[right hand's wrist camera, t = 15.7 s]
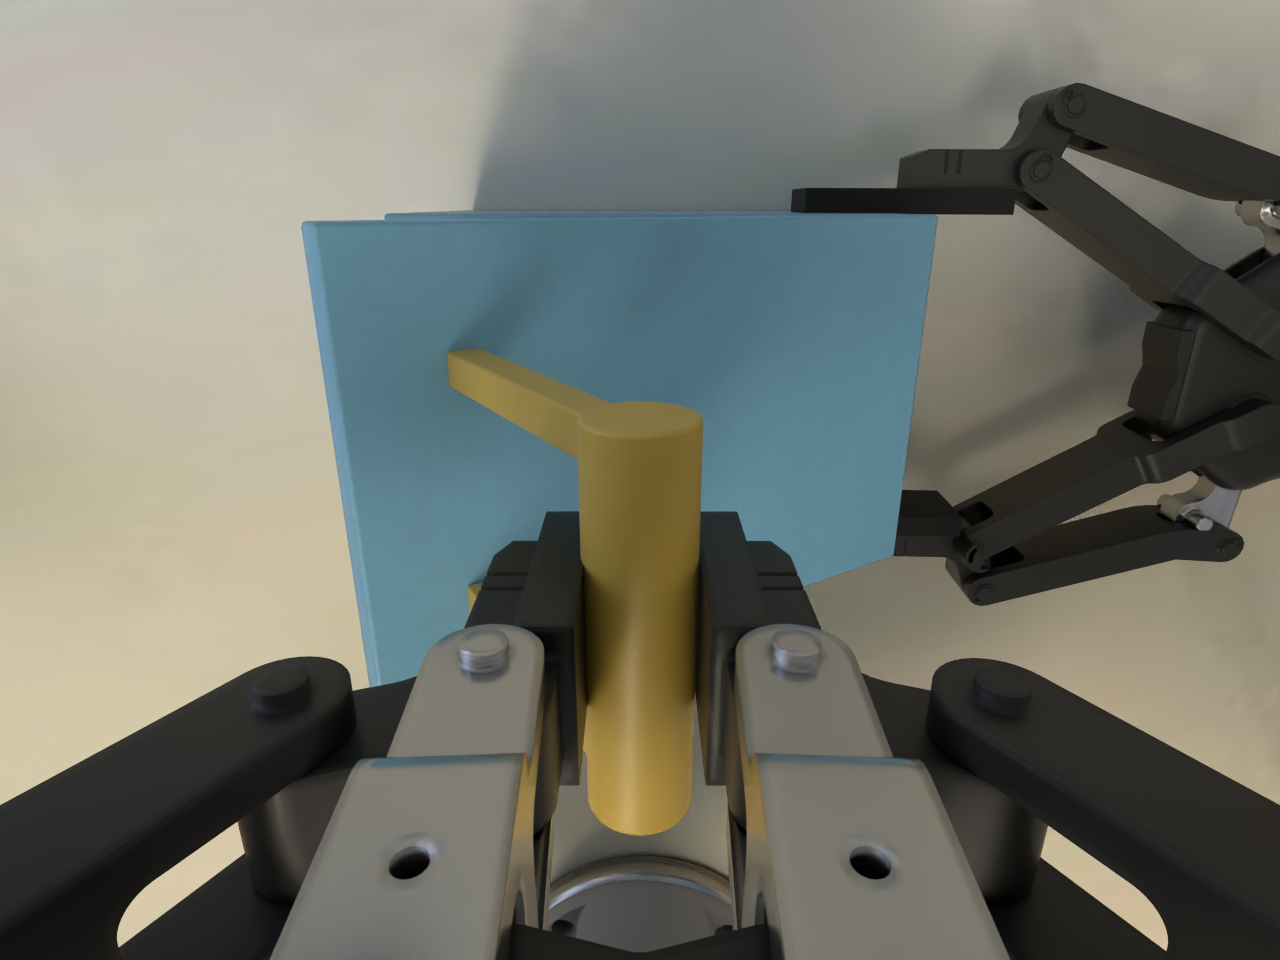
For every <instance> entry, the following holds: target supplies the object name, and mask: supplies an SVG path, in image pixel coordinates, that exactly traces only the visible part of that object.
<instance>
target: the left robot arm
mask: <svg viewBox="0 0 1280 960" xmlns="http://www.w3.org/2000/svg"><path fill="white" fill-rule="evenodd" d="M1018 118H1019V124H1018V126H1017V128H1016V130H1015V132H1014V134H1013V136H1012V137H1011V139H1010V140H1009V141H1008V143H1007V144H1006V145H1005V146H1003V147H1002V148H1000V149H998V150H994V149H962V150H961V149H929V150H924V151H919V152H915V153H913V154H910V155H908V156H905V157H903V158H900V163H899V172H898V180H897V188H802V189H792V203H791V212H797V213H899V214H985V215H1013V211H1014V205H1015V204H1017V205H1018V206H1019V207H1021V208H1022V209H1024V210H1025V211H1026V212H1028V213H1029V214H1031V215H1032V216H1033V217H1035V218H1036V219H1038V220H1039V221H1040V222H1042V223H1043V224H1045V225H1046V226H1047V227H1049V228H1050V229H1052V230H1053V231H1054V232H1056V233H1057V234H1058V235H1060V236H1061V237H1063V238H1064V239H1065V240H1067V241H1068V242H1070V243H1071V244H1072V245H1074V246H1075V247H1077V248H1078V249H1079V250H1081V251H1082V252H1084V253H1085V254H1086V255H1088V256H1089V257H1091V258H1092V259H1093V260H1095V261H1096V262H1097V263H1099V264H1100V265H1102V266H1103V267H1104V268H1106V269H1107V270H1109V271H1110V272H1111V273H1113V274H1114V275H1116V276H1117V277H1118V278H1120V279H1121V280H1123V281H1124V282H1125V283H1127V284H1128V285H1129V286H1130V290H1131V291H1132V292H1133V293H1135V294H1136V295H1137V296H1139V297H1140V298H1142V299H1143V300H1144V301H1146V302H1147V303H1149V304H1150V305H1151V306H1153V307H1154V308H1156V309H1157V310H1158V311H1160V312H1161V313H1160V314H1159V316H1158V317H1157V319H1156V321H1155V322H1147V325H1146V329H1145V333H1144V337H1143V342H1142V352H1143V365H1142V368H1141V370H1140V371H1139V373H1138V375H1137V377H1136V379H1135V381H1134V383H1133V385H1132V388H1131V392H1130V397H1129V401H1128V405H1127V406H1129V407H1131V408H1133V409H1134V410H1132V411H1130V412H1128V413H1126V414H1124V415H1122V416H1120V417H1118V418H1116V419H1114V420H1112V421H1110V422H1108V423H1106V424H1104V425H1103V426H1101V427H1100V428H1099V429H1098V432H1097V434H1096V436H1094V437H1092V438H1090V439H1088V440H1086V441H1084V442H1082V443H1080V444H1078V445H1076V446H1074V447H1072V448H1070V449H1068V450H1066V451H1064V452H1062V453H1060V454H1058V455H1056V456H1054V457H1052V458H1050V459H1048V460H1046V461H1044V462H1042V463H1040V464H1038V465H1036V466H1034V467H1032V468H1030V469H1028V470H1026V471H1024V472H1022V473H1020V474H1018V475H1016V476H1014V477H1012V478H1010V479H1008V480H1006V481H1004V482H1002V483H1000V484H998V485H996V486H994V487H992V488H990V489H988V490H986V491H984V492H982V493H980V494H978V495H976V496H973V497H971V498H969V499H967V500H965V501H963V502H961V503H959V504H957V505H955V506H953V507H952V506H951V505H950V504H949V503H948V502H947V501H946V500H945V499H944V497H943V496H942V495H941V494H940V493H939V492H938V491H928V490H902V494H901V502H900V510H899V517H898V525H897V533H896V540H895V548H894V554H893V556H919V557H945V558H946V559H947V560H946V569H947V571H948V573H949V574H950V575H951V577H952V578H953V579H954V580H955V582H956V583H957V584H958V586H959V587H960V588H961V590H962V591H963V592H964V594H965V595H966V596H967V598H968V599H969V600H970V601H971V602H972V603H973V604H975V605H979V606H984V605H990V604H994V603H998V602H1002V601H1006V600H1010V599H1014V598H1019V597H1023V596H1027V595H1031V594H1035V593H1039V592H1043V591H1047V590H1051V589H1056V588H1060V587H1064V586H1068V585H1072V584H1076V583H1080V582H1084V581H1089V580H1093V579H1097V578H1101V577H1105V576H1109V575H1113V574H1117V573H1122V572H1126V571H1130V570H1134V569H1138V568H1142V567H1146V566H1150V565H1154V564H1159V563H1163V562H1167V561H1171V560H1175V559H1177V560H1195V561H1213V562H1225V561H1230V560H1232V559H1234V558H1235V557H1237V556H1238V555H1239V554H1240V553H1241V551H1242V549H1243V546H1244V541H1243V538H1242V537H1241V536H1240V535H1239V534H1238V533H1236V532H1234V531H1232V530H1231V529H1229V525H1230V522H1231V520H1232V517H1233V514H1234V511H1235V508H1236V505H1237V503H1238V500H1239V497H1240V494H1241V491H1242V490H1245V489H1250V488H1253V487H1255V486H1258V485H1260V484H1262V483H1264V482H1267V481H1270V480H1274V479H1278V478H1280V157H1279V156H1277V155H1274V154H1271V153H1269V152H1266V151H1263V150H1261V149H1258V148H1255V147H1253V146H1250V145H1247V144H1244V143H1242V142H1239V141H1236V140H1234V139H1231V138H1228V137H1226V136H1223V135H1220V134H1218V133H1215V132H1212V131H1210V130H1207V129H1204V128H1201V127H1199V126H1196V125H1193V124H1191V123H1188V122H1185V121H1183V120H1180V119H1177V118H1175V117H1172V116H1169V115H1167V114H1164V113H1161V112H1158V111H1156V110H1153V109H1150V108H1148V107H1145V106H1142V105H1140V104H1137V103H1134V102H1132V101H1129V100H1126V99H1124V98H1121V97H1118V96H1115V95H1113V94H1110V93H1107V92H1105V91H1102V90H1099V89H1097V88H1094V87H1091V86H1089V85H1086V84H1081V83H1075V84H1071V85H1068V86H1064V87H1060V88H1056V89H1053V90H1050V91H1046V92H1043V93H1040V94H1037V95H1034V96H1031V97H1030V98H1028V99H1027V100H1026V101H1025V102H1024V103H1023V105H1022V106H1021V108H1020V111H1019V115H1018ZM1066 147H1068V148H1070V149H1073V150H1076V151H1079V152H1081V153H1084V154H1087V155H1090V156H1092V157H1095V158H1098V159H1100V160H1103V161H1106V162H1109V163H1111V164H1114V165H1117V166H1120V167H1122V168H1125V169H1128V170H1131V171H1133V172H1136V173H1139V174H1142V175H1144V176H1147V177H1150V178H1153V179H1155V180H1158V181H1161V182H1164V183H1166V184H1169V185H1172V186H1175V187H1177V188H1180V189H1183V190H1186V191H1188V192H1191V193H1194V194H1197V195H1199V196H1203V197H1206V198H1210V199H1215V200H1222V201H1239V202H1238V203H1237V204H1236V207H1235V213H1236V214H1237V215H1238V216H1240V217H1241V219H1242V220H1243V222H1244V223H1245V224H1247V225H1249V226H1252V227H1256V228H1259V229H1260V230H1261V231H1262V232H1263V233H1264V235H1265V240H1266V241H1265V247H1262V248H1259V249H1257V250H1255V251H1254V252H1252V253H1250V254H1249V255H1247V256H1245V257H1244V258H1242V259H1241V260H1239V261H1237V262H1236V263H1234V264H1232V265H1231V266H1229V267H1227V268H1226V269H1224V270H1221V269H1220V268H1218V267H1216V266H1213V265H1210V264H1208V263H1205V262H1203V261H1201V260H1200V259H1198V258H1197V257H1195V256H1194V255H1193V254H1191V253H1190V252H1189V251H1187V250H1186V249H1184V248H1183V247H1182V246H1180V245H1179V244H1178V243H1176V242H1175V241H1174V240H1172V239H1171V238H1170V237H1168V236H1167V235H1166V234H1164V233H1163V232H1161V231H1160V230H1159V229H1157V228H1156V227H1155V226H1153V225H1152V224H1151V223H1149V222H1148V221H1147V220H1145V219H1144V218H1143V217H1141V216H1140V215H1138V214H1137V213H1136V212H1134V211H1133V210H1132V209H1130V208H1129V207H1128V206H1126V205H1125V204H1124V203H1122V202H1121V201H1120V200H1118V199H1117V198H1115V197H1114V196H1113V195H1111V194H1110V193H1109V192H1107V191H1106V190H1105V189H1103V188H1102V187H1101V186H1099V185H1098V184H1097V183H1095V182H1094V181H1092V180H1091V179H1090V178H1088V177H1087V176H1086V175H1084V174H1083V173H1082V172H1080V171H1079V170H1078V169H1076V168H1075V167H1074V166H1072V165H1071V164H1069V163H1068V162H1067V161H1065V160H1064V159H1063V158H1061V156H1062V154H1063V152H1064V150H1065V148H1066ZM1152 439H1154V440H1155V441H1152ZM1189 471H1192V472H1193V473H1195V474H1196V475H1197V476H1199V479H1198V482H1197V483H1196V485H1195V486H1194V487H1193V488H1191V489H1190V490H1189V491H1186V492H1184V493H1179V494H1174V495H1172V496H1171V495H1169V494H1164V495H1162V496H1161V497H1159V499H1158V500H1157V505H1143V506H1134V507H1129V508H1124V509H1119V510H1115V511H1111V512H1107V513H1104V514H1100V515H1096V516H1092V517H1088V518H1084V519H1080V520H1076V521H1072V522H1068V523H1064V524H1060V523H1062V522H1064V521H1066V520H1068V519H1071V518H1073V517H1075V516H1077V515H1079V514H1081V513H1083V512H1085V511H1087V510H1089V509H1092V508H1094V507H1096V506H1098V505H1100V504H1102V503H1104V502H1106V501H1108V500H1110V499H1113V498H1115V497H1117V496H1119V495H1121V494H1123V493H1125V492H1127V491H1129V490H1131V489H1134V488H1136V487H1138V486H1140V485H1142V484H1146V483H1163V482H1167V481H1169V480H1172V479H1174V478H1176V477H1178V476H1180V475H1182V474H1184V473H1187V472H1189ZM1058 524H1060V525H1058ZM547 931H551V932H555V933H559V934H563V935H567V936H571V937H575V938H578V939H582V940H586V941H590V942H594V943H598V944H602V945H606V946H610V947H614V948H618V949H622V950H626V951H632V952H648V951H654V950H658V949H662V948H666V947H670V946H674V945H678V944H682V943H686V942H690V941H694V940H698V939H702V938H705V937H709V936H713V935H717V934H721V933H725V932H729V931H733V925H732V910H731V896H730V882H729V881H728V880H726V879H725V878H723V877H721V876H720V875H718V874H716V873H714V872H712V871H710V870H708V869H705V868H703V867H700V866H698V865H695V864H692V863H688V862H685V861H681V860H676V859H672V858H665V857H656V856H628V857H619V858H613V859H607V860H603V861H599V862H596V863H593V864H590V865H587V866H584V867H582V868H579V869H577V870H575V871H573V872H571V873H569V874H568V875H566V876H564V877H563V878H561V879H560V880H558V881H557V882H555V883H554V884H553V885H552V886H551V887H550V895H549V909H548V924H547Z"/></svg>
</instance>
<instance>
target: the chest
mask: <svg viewBox="0 0 1280 960" xmlns="http://www.w3.org/2000/svg"><path fill="white" fill-rule="evenodd" d="M890 214H899V213H797V212H791V211H774V210H468V211H443V212H417V213H392V214H386V215H385V220H447V219H536V218H624V217H713V216H802V215H890Z"/></svg>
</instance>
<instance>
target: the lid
mask: <svg viewBox="0 0 1280 960" xmlns="http://www.w3.org/2000/svg"><path fill="white" fill-rule="evenodd" d="M937 219H938V218H937V216H936V215H922V214H890V215H802V216H713V217H624V218H536V219H447V220H358V221H305V222H303V223H302V227H301V228H302V234H303V241H304V248H305V255H306V261H307V268H308V275H309V282H310V288H311V295H312V302H313V308H314V315H315V322H316V329H317V335H318V342H319V349H320V356H321V362H322V369H323V376H324V382H325V389H326V396H327V403H328V409H329V416H330V423H331V430H332V436H333V443H334V450H335V457H336V463H337V470H338V477H339V483H340V490H341V497H342V504H343V510H344V517H345V524H346V531H347V537H348V544H349V551H350V557H351V564H352V571H353V578H354V584H355V591H356V598H357V605H358V611H359V618H360V625H361V632H362V638H363V645H364V652H365V658H366V665H367V672H368V679H369V685H370V687H375V686H380V685H385V684H390V683H395V682H399V681H403V680H406V679H409V678H412V677H415V676H417V675H418V673H419V670H420V668H421V665H422V662H423V660H424V657H425V655H426V653H427V651H428V650H429V649H430V648H431V647H432V646H433V645H434V644H435V643H436V642H437V641H438V640H440V639H442V638H443V637H445V636H447V635H449V634H451V633H453V632H455V631H458V630H461V629H464V627H465V624H466V622H467V620H468V617H469V615H470V612H471V610H472V607H473V605H474V603H475V600H476V598H477V595H478V593H479V590H481V585H482V583H483V581H484V578H485V576H487V571H488V568H489V566H490V564H491V561H492V559H493V556H494V555H495V554H496V553H498V552H499V551H500V550H502V549H503V548H504V547H506V546H507V545H508V544H510V543H511V542H512V541H538V538H539V535H540V531H541V528H542V525H543V521H544V518H545V515H546V512H547V511H579V520H580V553H581V561H582V563H583V573H584V607H585V642H586V676H587V713H586V723H585V733H584V743H583V751H584V752H585V754H586V755H587V785H588V801H589V805H590V807H591V810H592V811H593V813H594V814H595V816H596V817H597V818H598V819H599V821H601V822H602V823H603V824H604V825H606V826H607V827H609V828H610V829H613V830H615V831H617V832H620V833H624V834H628V835H640V836H643V835H651V834H656V833H660V832H663V831H665V830H667V829H669V828H671V827H673V826H674V825H676V824H677V823H678V822H679V821H680V820H681V819H682V818H683V817H684V815H685V814H686V813H687V811H688V809H689V807H690V804H691V800H692V778H693V746H694V714H695V681H696V649H697V617H698V584H699V552H700V520H701V511H737V512H738V515H739V518H740V521H741V525H742V528H743V531H744V534H745V537H746V541H772V542H773V543H774V544H776V545H777V546H778V547H780V548H781V549H782V550H784V551H785V552H786V553H788V554H789V555H790V556H791V558H792V561H793V563H794V566H795V568H796V570H797V575H798V576H799V577H800V580H801V582H802V585H803V587H805V586H808V585H811V584H814V583H817V582H820V581H822V580H825V579H828V578H831V577H834V576H837V575H839V574H842V573H845V572H848V571H851V570H854V569H856V568H859V567H862V566H865V565H868V564H871V563H874V562H876V561H879V560H882V559H885V558H888V557H891V556H893V554H894V548H895V540H896V533H897V525H898V517H899V510H900V502H901V494H902V487H903V479H904V471H905V464H906V456H907V448H908V441H909V433H910V425H911V418H912V410H913V403H914V395H915V387H916V380H917V372H918V364H919V357H920V349H921V341H922V334H923V326H924V318H925V311H926V303H927V295H928V288H929V280H930V272H931V265H932V257H933V250H934V242H935V234H936V227H937Z"/></svg>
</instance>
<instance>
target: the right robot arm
mask: <svg viewBox="0 0 1280 960" xmlns="http://www.w3.org/2000/svg"><path fill="white" fill-rule="evenodd" d="M695 693H696V702H697V711H698V720H699V729H700V738H701V747H702V756H703V765H704V774H705V783H706V785H726V790H727V797H728V812H727V832H726V838H727V853H728V867H729V881H730V896H731V910H732V925H733V931H729V932H725V933H721V934H717V935H713V936H709V937H705V938H702V939H698V940H694V941H690V942H686V943H682V944H678V945H674V946H670V947H666V948H662V949H658V950H654V951H648V952H632V951H626V950H622V949H618V948H614V947H610V946H606V945H602V944H598V943H594V942H590V941H586V940H582V939H578V938H575V937H571V936H567V935H563V934H559V933H555V932H551V931H547V924H548V909H549V895H550V880H551V866H552V852H553V837H554V834H553V813H554V811H555V809H556V805H557V799H558V792H559V785H579V782H580V772H581V762H582V752H583V743H584V733H585V723H586V713H587V676H586V642H585V607H584V573H583V563H582V561H581V553H580V520H579V511H547V512H546V515H545V518H544V521H543V525H542V528H541V531H540V535H539V538H538V541H512V542H511V543H510V544H508V545H507V546H506V547H504V548H503V549H502V550H500V551H499V552H498V553H496V554H495V555H494V556H493V559H492V561H491V564H490V566H489V568H488V571H487V576H485V578H484V581H483V583H482V585H481V590H479V593H478V595H477V598H476V600H475V603H474V605H473V607H472V610H471V612H470V615H469V617H468V620H467V622H466V624H465V627H464V629H461V630H458V631H455V632H453V633H451V634H449V635H447V636H445V637H443V638H442V639H440V640H438V641H437V642H436V643H435V644H434V645H433V646H432V647H431V648H430V649H429V650H428V651H427V653H426V655H425V657H424V660H423V662H422V665H421V668H420V670H419V673H418V675H417V676H415V677H412V678H409V679H406V680H403V681H399V682H395V683H390V684H385V685H380V686H375V687H370V688H365V689H360V690H355V691H352V685H351V678H350V674H349V672H348V670H347V669H346V668H345V667H344V666H343V665H342V664H340V663H338V662H337V661H334V660H331V659H327V658H322V657H295V658H288V659H283V660H278V661H274V662H271V663H268V664H265V665H262V666H259V667H257V668H254V669H252V670H250V671H248V672H246V673H244V674H242V675H240V676H238V677H236V678H235V679H233V680H231V681H229V682H227V683H225V684H224V685H222V686H220V687H218V688H216V689H214V690H212V691H211V692H209V693H207V694H205V695H203V696H201V697H199V698H198V699H196V700H194V701H192V702H190V703H188V704H187V705H185V706H183V707H181V708H179V709H177V710H175V711H174V712H172V713H170V714H168V715H166V716H164V717H163V718H161V719H159V720H157V721H155V722H153V723H151V724H150V725H148V726H146V727H144V728H142V729H140V730H138V731H137V732H135V733H133V734H131V735H129V736H127V737H126V738H124V739H122V740H120V741H118V742H116V743H114V744H113V745H111V746H109V747H107V748H105V749H103V750H102V751H100V752H98V753H96V754H94V755H92V756H90V757H89V758H87V759H85V760H83V761H81V762H79V763H77V764H76V765H74V766H72V767H70V768H68V769H66V770H65V771H63V772H61V773H59V774H57V775H55V776H53V777H52V778H50V779H48V780H46V781H44V782H42V783H40V784H39V785H37V786H35V787H33V788H31V789H29V790H28V791H26V792H24V793H22V794H20V795H18V796H16V797H15V798H13V799H11V800H9V801H7V802H5V803H4V804H2V805H0V960H1280V805H1278V804H1277V803H1275V802H1273V801H1271V800H1269V799H1267V798H1265V797H1264V796H1262V795H1260V794H1258V793H1256V792H1254V791H1252V790H1251V789H1249V788H1247V787H1245V786H1243V785H1241V784H1240V783H1238V782H1236V781H1234V780H1232V779H1230V778H1228V777H1227V776H1225V775H1223V774H1221V773H1219V772H1217V771H1215V770H1214V769H1212V768H1210V767H1208V766H1206V765H1204V764H1203V763H1201V762H1199V761H1197V760H1195V759H1193V758H1191V757H1190V756H1188V755H1186V754H1184V753H1182V752H1180V751H1179V750H1177V749H1175V748H1173V747H1171V746H1169V745H1167V744H1166V743H1164V742H1162V741H1160V740H1158V739H1156V738H1154V737H1153V736H1151V735H1149V734H1147V733H1145V732H1143V731H1142V730H1140V729H1138V728H1136V727H1134V726H1132V725H1130V724H1129V723H1127V722H1125V721H1123V720H1121V719H1119V718H1118V717H1116V716H1114V715H1112V714H1110V713H1108V712H1106V711H1105V710H1103V709H1101V708H1099V707H1097V706H1095V705H1093V704H1092V703H1090V702H1088V701H1086V700H1084V699H1082V698H1081V697H1079V696H1077V695H1075V694H1073V693H1071V692H1069V691H1068V690H1066V689H1064V688H1062V687H1060V686H1058V685H1056V684H1055V683H1053V682H1051V681H1049V680H1047V679H1045V678H1044V677H1042V676H1040V675H1038V674H1036V673H1034V672H1032V671H1030V670H1027V669H1025V668H1022V667H1019V666H1016V665H1013V664H1010V663H1006V662H1002V661H997V660H991V659H982V658H967V659H959V660H954V661H951V662H948V663H946V664H944V665H942V666H940V667H939V668H938V669H937V670H936V671H935V673H934V675H933V679H932V685H931V691H930V690H925V689H920V688H915V687H910V686H905V685H900V684H894V683H890V682H886V681H882V680H879V679H876V678H873V677H870V676H867V675H865V674H863V673H861V670H860V668H859V665H858V663H857V660H856V657H855V655H854V653H853V652H852V650H851V649H850V648H849V647H848V646H847V645H846V644H845V643H844V642H843V641H841V640H840V639H838V638H837V637H835V636H833V635H831V634H829V633H827V632H825V631H822V630H821V627H820V625H819V622H818V620H817V618H816V615H815V613H814V611H813V608H812V606H811V603H810V601H809V599H808V596H807V594H806V592H805V590H803V585H802V582H801V580H800V577H799V576H798V575H797V570H796V568H795V566H794V563H793V561H792V558H791V556H790V555H789V554H788V553H786V552H785V551H784V550H782V549H781V548H780V547H778V546H777V545H776V544H774V543H773V542H772V541H746V537H745V534H744V531H743V528H742V525H741V521H740V518H739V515H738V512H737V511H701V520H700V552H699V584H698V617H697V649H696V681H695ZM236 822H238V826H239V830H240V834H241V838H242V842H243V847H244V851H245V854H243V855H242V856H241V857H239V858H238V859H237V860H235V861H234V862H233V863H231V864H230V865H229V866H227V867H226V868H225V869H223V870H222V871H221V872H219V873H218V874H217V875H215V876H214V877H213V878H211V879H210V880H209V881H207V882H206V883H205V884H203V885H202V886H201V887H199V888H198V889H197V890H195V891H194V892H193V893H191V894H190V895H189V896H187V897H186V898H185V899H183V900H182V901H181V902H179V903H178V904H177V905H175V906H174V907H173V908H171V909H170V910H168V911H167V912H166V913H164V914H163V915H162V916H160V917H159V918H158V919H156V920H155V921H154V922H152V923H151V924H150V925H148V926H147V927H146V928H144V929H143V930H142V931H140V932H139V933H138V934H136V935H135V936H134V937H132V938H131V939H130V940H128V941H127V942H126V943H124V944H123V945H122V946H120V947H118V944H117V931H118V926H119V923H120V921H121V918H122V916H123V914H124V912H125V911H126V909H127V907H128V906H129V905H130V903H131V902H132V900H133V899H134V898H135V897H136V896H137V895H138V894H139V893H140V892H141V891H142V890H143V889H144V888H145V887H146V886H147V885H148V884H150V883H151V882H152V881H154V880H155V879H156V878H158V877H159V876H161V875H162V874H164V873H165V872H166V871H168V870H169V869H171V868H172V867H173V866H175V865H176V864H178V863H179V862H181V861H182V860H183V859H185V858H186V857H188V856H189V855H190V854H192V853H193V852H195V851H196V850H198V849H199V848H200V847H202V846H203V845H205V844H206V843H207V842H209V841H210V840H212V839H213V838H215V837H216V836H217V835H219V834H220V833H222V832H223V831H224V830H226V829H227V828H229V827H230V826H232V825H233V824H234V823H236ZM1048 826H1050V827H1051V828H1053V829H1054V830H1056V831H1057V832H1058V833H1060V834H1061V835H1063V836H1064V837H1065V838H1067V839H1068V840H1070V841H1071V842H1073V843H1074V844H1075V845H1077V846H1078V847H1080V848H1081V849H1082V850H1084V851H1085V852H1087V853H1088V854H1090V855H1091V856H1092V857H1094V858H1095V859H1097V860H1098V861H1099V862H1101V863H1102V864H1104V865H1105V866H1107V867H1108V868H1109V869H1111V870H1112V871H1114V872H1115V873H1116V874H1118V875H1119V876H1121V877H1122V878H1124V879H1125V880H1126V881H1128V882H1129V883H1131V884H1132V885H1133V886H1135V887H1136V888H1137V889H1138V890H1140V891H1141V892H1142V893H1143V894H1144V895H1145V896H1146V897H1147V898H1148V899H1149V901H1150V902H1151V903H1152V904H1153V905H1154V907H1155V908H1156V910H1157V911H1158V913H1159V914H1160V916H1161V918H1162V920H1163V922H1164V924H1165V927H1166V930H1167V934H1168V947H1167V951H1165V950H1164V949H1162V948H1161V947H1160V946H1158V945H1157V944H1156V943H1154V942H1153V941H1152V940H1150V939H1149V938H1148V937H1146V936H1145V935H1144V934H1142V933H1141V932H1140V931H1138V930H1137V929H1136V928H1134V927H1133V926H1132V925H1130V924H1129V923H1128V922H1126V921H1125V920H1124V919H1122V918H1121V917H1120V916H1118V915H1117V914H1116V913H1114V912H1113V911H1112V910H1110V909H1109V908H1108V907H1106V906H1105V905H1104V904H1102V903H1101V902H1099V901H1098V900H1097V899H1095V898H1094V897H1093V896H1091V895H1090V894H1089V893H1087V892H1086V891H1085V890H1083V889H1082V888H1081V887H1079V886H1078V885H1077V884H1075V883H1074V882H1073V881H1071V880H1070V879H1069V878H1067V877H1066V876H1065V875H1063V874H1062V873H1061V872H1059V871H1058V870H1057V869H1055V868H1054V867H1053V866H1051V865H1050V864H1049V863H1047V862H1046V861H1045V860H1043V859H1042V858H1041V857H1040V856H1041V852H1042V848H1043V844H1044V840H1045V836H1046V832H1047V827H1048Z"/></svg>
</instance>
